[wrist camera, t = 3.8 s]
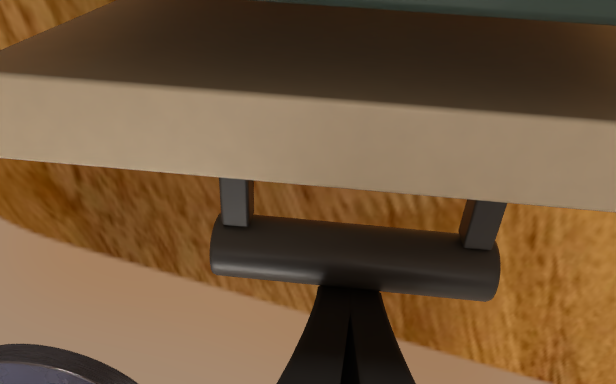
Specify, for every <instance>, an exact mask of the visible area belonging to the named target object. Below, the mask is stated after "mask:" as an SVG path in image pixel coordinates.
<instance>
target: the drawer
mask: <svg viewBox="0 0 616 384" xmlns="http://www.w3.org/2000/svg"><path fill="white" fill-rule="evenodd" d="M0 158H6V159H18V160H29V161H40V162H52V163H63V164H74V165H86V166H97V167H108V168H120V169H131V170H142V171H153V172H165V173H176V174H187V175H199V176H210V177H219V186H220V202H221V213H220V214H219V215H218V217H217V219H216V221H215V223H214V227H213V230H212V235H211V242H210V265H211V270H212V272H213V273H214V274H216V275H222V276H232V277H242V278H252V279H262V280H272V281H282V282H292V283H302V284H313V285H323V286H333V287H343V288H353V289H363V290H373V291H383V292H393V293H403V294H414V295H424V296H434V297H444V298H454V299H464V300H474V301H484V302H486V301H489V300H491V299H492V298H493V297H494V295H495V293H496V291H497V288H498V284H499V279H500V254H499V249H498V246H497V243H496V241H495V239H496V236H497V233H498V230H499V227H500V224H501V221H502V218H503V215H504V211H505V208H506V205H507V203H515V204H527V205H538V206H549V207H561V208H572V209H583V210H595V211H606V212H616V26H612V25H597V24H583V23H568V22H554V21H539V20H525V19H510V18H496V17H482V16H467V15H453V14H438V13H424V12H409V11H395V10H380V9H366V8H351V7H337V6H322V5H308V4H293V3H279V2H265V1H250V0H116V1H114V2H111V3H109V4H107V5H105V6H102V7H100V8H98V9H95V10H93V11H91V12H88V13H86V14H84V15H81V16H79V17H77V18H74V19H72V20H70V21H67V22H65V23H63V24H60V25H58V26H56V27H53V28H51V29H49V30H47V31H44V32H42V33H40V34H37V35H35V36H33V37H30V38H28V39H26V40H23V41H21V42H19V43H16V44H14V45H12V46H9V47H7V48H5V49H2V50H0ZM253 180H255V181H267V182H278V183H289V184H300V185H312V186H323V187H334V188H346V189H357V190H368V191H380V192H391V193H402V194H414V195H425V196H436V197H448V198H459V199H467V202H466V205H465V209H464V212H463V216H462V220H461V223H460V227H459V234H458V233H447V232H436V231H425V230H415V229H404V228H393V227H382V226H371V225H360V224H349V223H339V222H328V221H317V220H306V219H295V218H284V217H273V216H263V215H253V213H254V182H253Z"/></svg>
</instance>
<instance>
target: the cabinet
mask: <svg viewBox="0 0 616 384" xmlns="http://www.w3.org/2000/svg"><path fill="white" fill-rule="evenodd" d="M250 1H265V2H279V3H293V4H308V5H322V6H337V7H351V8H366V9H380V10H395V11H409V12H424V13H438V14H453V15H467V16H482V17H496V18H510V19H525V20H539V21H554V22H568V23H583V24H597V25H612V26H616V0H250Z"/></svg>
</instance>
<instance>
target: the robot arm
mask: <svg viewBox="0 0 616 384" xmlns="http://www.w3.org/2000/svg"><path fill="white" fill-rule="evenodd" d="M277 384H416V383H415V381H414V379H413V377H412V375H411V373H410V371H409V368H408V366H407V364H406V362H405V359H404V357H403V355H402V353H401V351H400V348H399V346H398V343H397V341H396V338H395V336H394V333H393V331H392V328H391V325H390V322H389V320H388V317H387V314H386V311H385V307H384V304H383V300H382V296H381V293H380V292H379V291H373V290H363V289H353V288H343V287H333V286H323V285H321V286H319V287H318V290H317V295H316V299H315V302H314V306H313V309H312V311H311V314H310V317H309V319H308V322H307V324H306V327H305V329H304V331H303V334H302V336H301V338H300V340H299V342H298V344H297V346H296V348H295V351H294V353H293V355H292V357H291V359H290V361H289V362H288V364H287V366H286V368H285V370H284V371H283V373H282V375H281V377H280V379H279V380H278V382H277Z"/></svg>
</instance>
